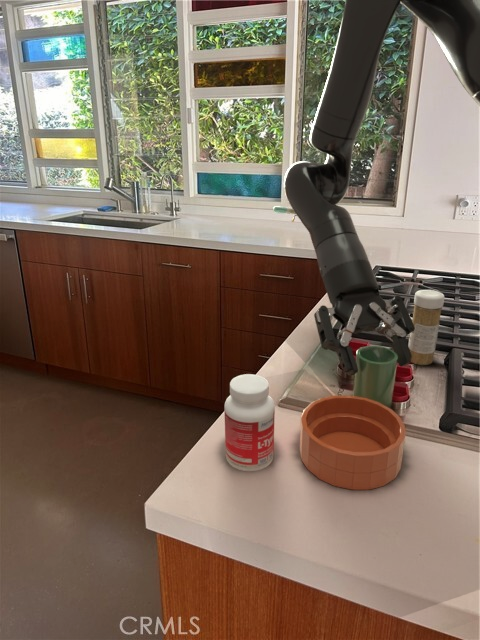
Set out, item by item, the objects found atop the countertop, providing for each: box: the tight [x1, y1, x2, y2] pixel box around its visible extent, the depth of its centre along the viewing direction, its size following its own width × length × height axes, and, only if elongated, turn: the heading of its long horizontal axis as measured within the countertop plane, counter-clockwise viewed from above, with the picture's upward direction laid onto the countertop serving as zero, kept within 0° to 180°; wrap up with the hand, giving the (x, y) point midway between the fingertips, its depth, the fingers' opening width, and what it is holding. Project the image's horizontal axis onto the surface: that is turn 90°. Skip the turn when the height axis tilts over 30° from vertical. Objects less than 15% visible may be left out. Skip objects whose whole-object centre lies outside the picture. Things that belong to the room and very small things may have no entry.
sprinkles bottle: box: [407, 289, 445, 366], centre depth 79 cm, size 5×5×14 cm
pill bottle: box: [223, 373, 276, 472], centre depth 57 cm, size 6×6×11 cm
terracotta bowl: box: [299, 394, 406, 491], centre depth 58 cm, size 12×12×6 cm
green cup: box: [352, 345, 398, 409], centre depth 68 cm, size 6×6×9 cm
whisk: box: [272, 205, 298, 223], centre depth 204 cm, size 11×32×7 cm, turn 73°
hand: (380, 369), depth 66 cm, fingers open, 8 cm apart
